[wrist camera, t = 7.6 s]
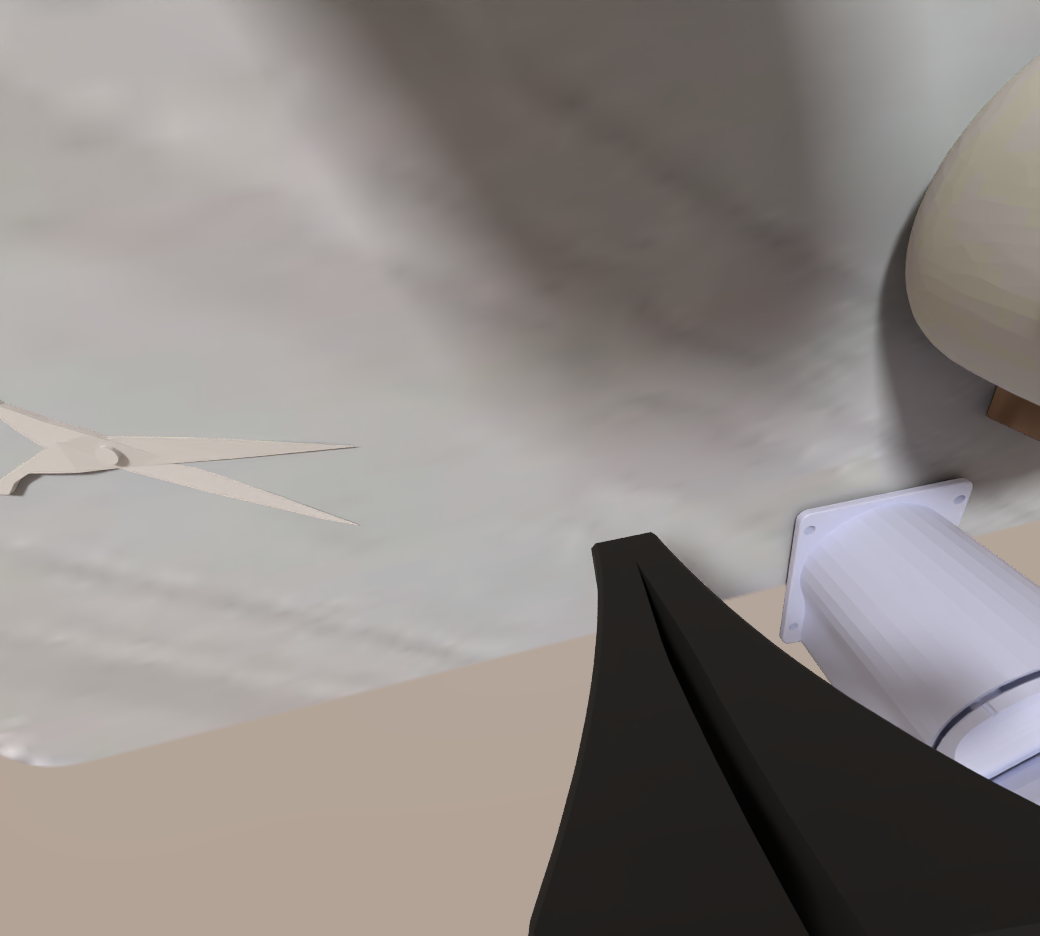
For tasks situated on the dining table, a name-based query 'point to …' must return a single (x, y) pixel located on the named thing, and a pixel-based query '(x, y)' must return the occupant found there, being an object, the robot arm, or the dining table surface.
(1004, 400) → the dock
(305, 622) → the dining table surface
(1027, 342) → the teacup
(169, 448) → the scissors
